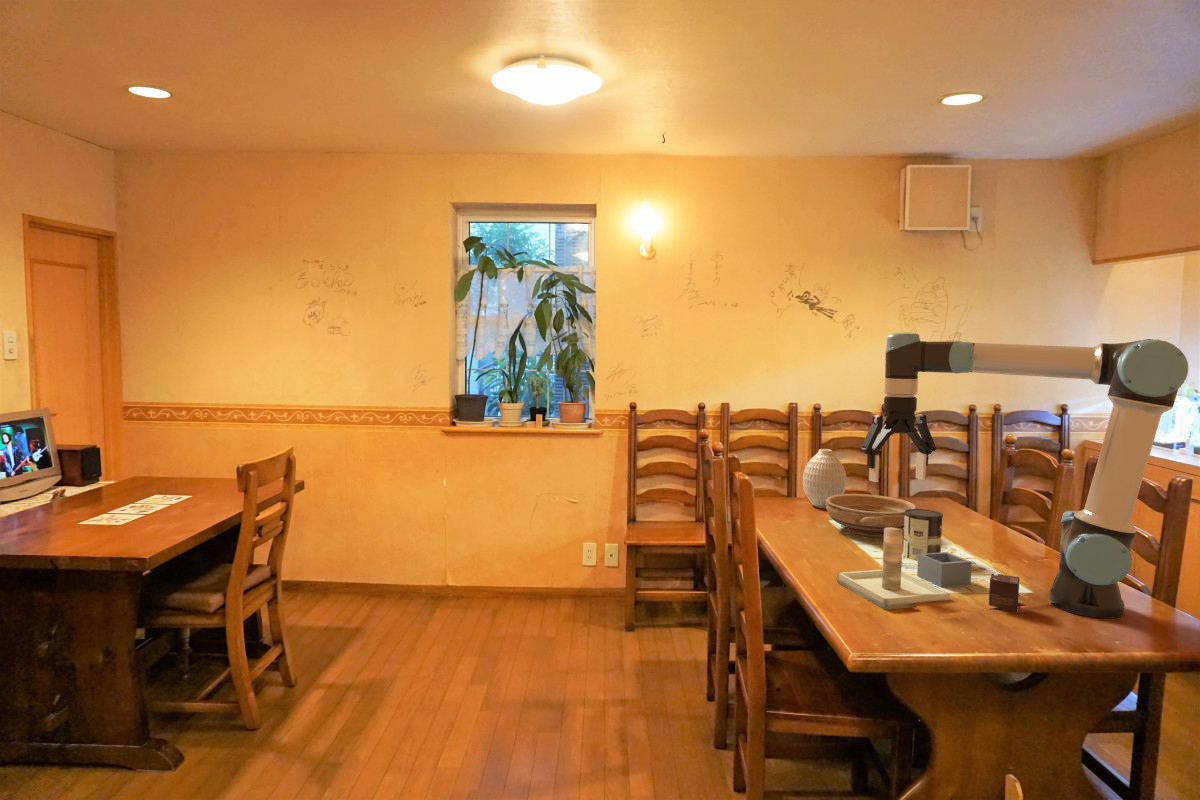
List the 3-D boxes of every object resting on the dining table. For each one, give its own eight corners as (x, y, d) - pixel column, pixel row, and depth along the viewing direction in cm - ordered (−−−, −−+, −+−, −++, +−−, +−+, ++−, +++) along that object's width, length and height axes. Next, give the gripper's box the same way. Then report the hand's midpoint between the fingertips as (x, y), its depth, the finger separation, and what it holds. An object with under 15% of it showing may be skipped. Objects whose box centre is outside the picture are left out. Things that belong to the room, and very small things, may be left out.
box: (1017, 614, 169) (1018, 583, 168) (988, 609, 172) (989, 579, 172) (1018, 606, 174) (1019, 576, 174) (989, 601, 177) (991, 572, 177)
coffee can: (935, 556, 216) (937, 509, 215) (944, 566, 206) (947, 517, 204) (898, 553, 218) (901, 507, 217) (906, 563, 208) (908, 515, 207)
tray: (949, 603, 175) (949, 593, 175) (884, 609, 171) (885, 598, 171) (896, 577, 195) (896, 568, 194) (837, 582, 190) (837, 572, 190)
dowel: (904, 590, 181) (906, 531, 180) (889, 591, 180) (891, 532, 179) (893, 584, 185) (895, 527, 184) (878, 585, 184) (880, 528, 183)
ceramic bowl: (923, 551, 221) (924, 518, 220) (825, 542, 229) (826, 511, 228) (908, 522, 256) (909, 494, 255) (823, 516, 264) (824, 489, 264)
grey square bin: (970, 588, 187) (971, 561, 186) (940, 590, 185) (941, 564, 184) (945, 577, 196) (946, 551, 195) (917, 579, 193) (918, 553, 193)
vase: (804, 510, 274) (806, 451, 272) (799, 501, 290) (801, 446, 288) (848, 512, 271) (851, 453, 270) (841, 502, 287) (843, 447, 286)
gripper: (932, 394, 186) (929, 475, 188) (847, 395, 180) (844, 479, 181) (953, 396, 179) (950, 480, 180) (865, 397, 172) (862, 485, 174)
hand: (897, 480), depth 181 cm, fingers open, 13 cm apart
